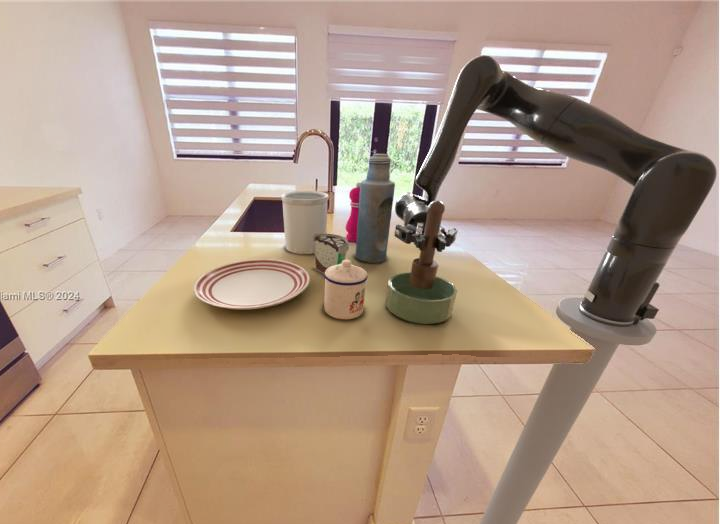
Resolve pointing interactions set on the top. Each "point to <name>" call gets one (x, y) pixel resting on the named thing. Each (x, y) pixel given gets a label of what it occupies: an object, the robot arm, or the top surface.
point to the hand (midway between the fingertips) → (431, 246)
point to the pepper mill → (353, 214)
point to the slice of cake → (329, 250)
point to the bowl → (420, 300)
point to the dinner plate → (251, 284)
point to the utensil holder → (304, 219)
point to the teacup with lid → (344, 290)
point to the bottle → (375, 210)
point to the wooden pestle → (428, 249)
